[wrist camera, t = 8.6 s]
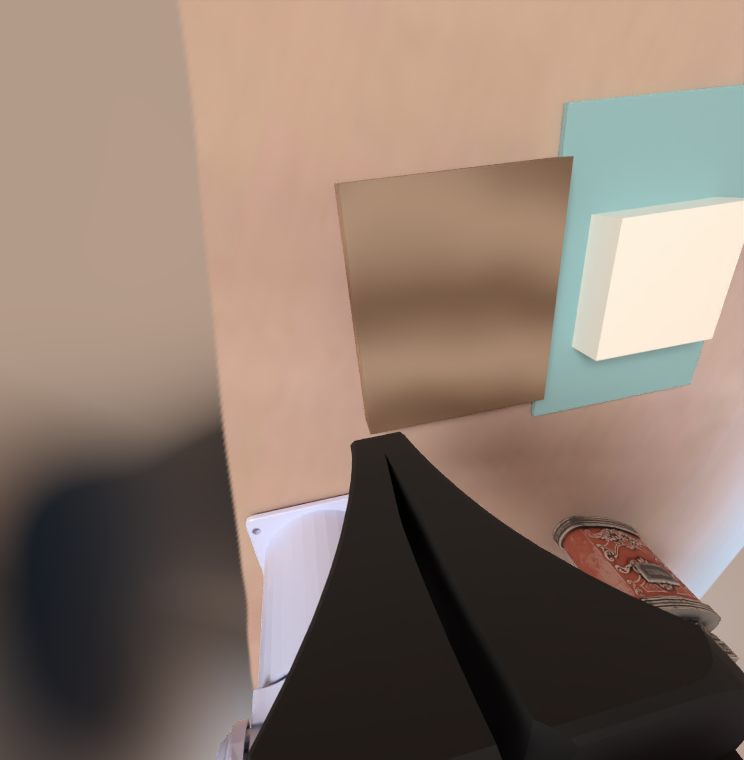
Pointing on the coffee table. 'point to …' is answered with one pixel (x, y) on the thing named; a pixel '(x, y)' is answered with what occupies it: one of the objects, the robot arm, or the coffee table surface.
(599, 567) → the lighter
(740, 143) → the mat
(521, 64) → the coffee table surface
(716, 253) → the cream flat block
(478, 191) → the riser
